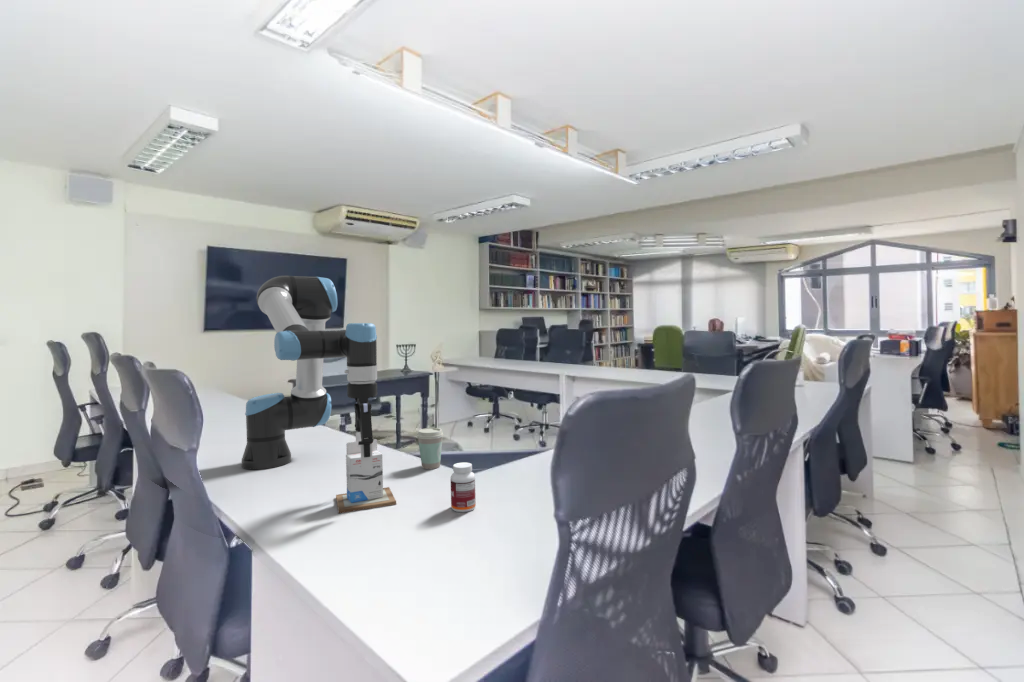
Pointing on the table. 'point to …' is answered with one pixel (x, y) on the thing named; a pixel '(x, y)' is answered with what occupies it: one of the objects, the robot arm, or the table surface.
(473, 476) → the pill bottle
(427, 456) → the coffee cup
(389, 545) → the table surface
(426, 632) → the table surface
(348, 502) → the board
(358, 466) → the ink box
